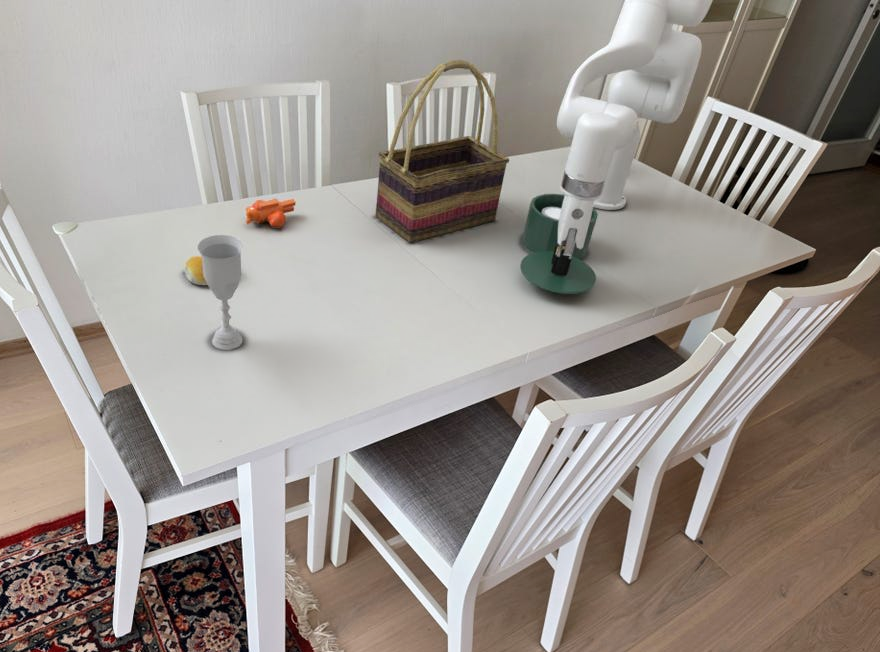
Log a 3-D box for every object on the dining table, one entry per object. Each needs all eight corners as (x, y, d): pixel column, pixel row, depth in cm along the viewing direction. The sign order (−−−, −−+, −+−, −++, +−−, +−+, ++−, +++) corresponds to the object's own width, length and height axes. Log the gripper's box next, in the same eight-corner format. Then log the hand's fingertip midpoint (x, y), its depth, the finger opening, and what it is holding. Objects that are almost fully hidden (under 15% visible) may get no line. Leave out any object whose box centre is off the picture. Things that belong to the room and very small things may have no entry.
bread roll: (240, 280, 130) (240, 262, 127) (194, 290, 125) (193, 272, 123) (224, 259, 135) (223, 242, 132) (179, 269, 130) (177, 251, 128)
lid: (505, 275, 136) (511, 248, 132) (541, 248, 145) (547, 222, 142) (574, 306, 129) (583, 278, 125) (606, 275, 139) (615, 249, 135)
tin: (510, 246, 151) (519, 206, 145) (540, 225, 161) (549, 187, 155) (568, 270, 145) (580, 230, 139) (596, 247, 154) (608, 209, 149)
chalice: (209, 327, 117) (201, 233, 106) (249, 328, 118) (245, 236, 107) (203, 353, 111) (194, 257, 100) (245, 354, 112) (241, 259, 101)
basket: (408, 245, 147) (428, 77, 125) (370, 216, 155) (383, 55, 134) (499, 221, 160) (531, 66, 138) (459, 196, 169) (484, 46, 147)
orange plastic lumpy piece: (289, 188, 150) (240, 199, 143) (306, 211, 147) (257, 223, 141) (285, 205, 153) (237, 216, 147) (302, 227, 151) (254, 240, 144)
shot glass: (564, 251, 151) (572, 222, 146) (533, 245, 151) (541, 217, 147) (565, 237, 156) (572, 209, 152) (535, 231, 157) (542, 203, 152)
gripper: (605, 206, 118) (577, 294, 130) (601, 169, 131) (577, 252, 142) (562, 199, 119) (538, 287, 130) (562, 163, 131) (541, 246, 143)
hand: (558, 268), depth 136 cm, fingers closed on lid, 2 cm apart
